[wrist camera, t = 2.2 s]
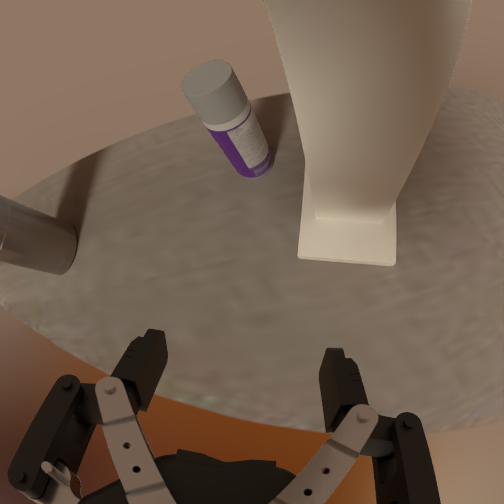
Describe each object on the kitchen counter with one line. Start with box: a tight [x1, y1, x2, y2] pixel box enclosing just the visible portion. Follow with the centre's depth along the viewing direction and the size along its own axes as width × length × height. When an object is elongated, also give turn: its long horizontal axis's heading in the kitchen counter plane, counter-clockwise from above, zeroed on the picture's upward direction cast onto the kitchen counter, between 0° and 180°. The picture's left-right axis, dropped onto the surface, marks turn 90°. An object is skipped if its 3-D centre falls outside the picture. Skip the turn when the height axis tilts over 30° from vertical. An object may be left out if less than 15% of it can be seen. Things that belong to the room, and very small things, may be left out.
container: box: [181, 60, 273, 179], centre depth 25 cm, size 5×5×15 cm
